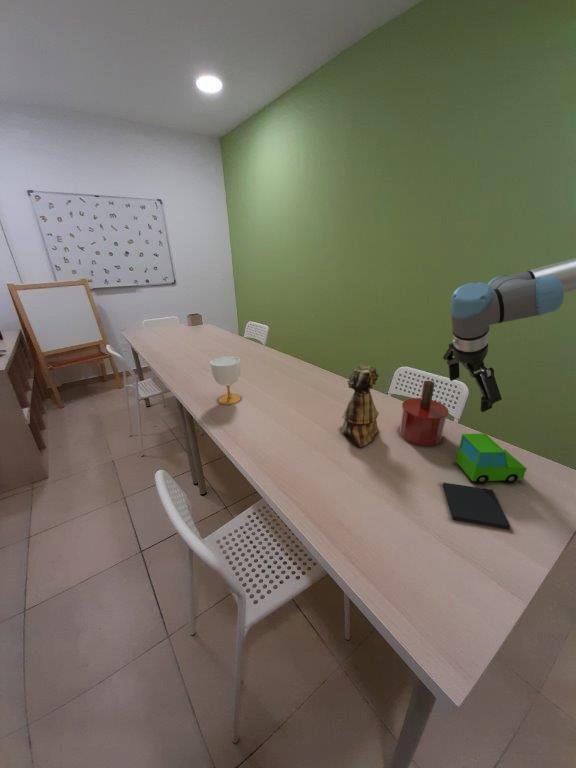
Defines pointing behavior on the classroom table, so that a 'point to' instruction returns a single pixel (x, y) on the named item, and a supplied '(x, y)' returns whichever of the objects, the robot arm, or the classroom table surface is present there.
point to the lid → (425, 405)
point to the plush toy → (361, 407)
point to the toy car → (487, 460)
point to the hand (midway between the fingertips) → (469, 393)
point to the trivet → (475, 505)
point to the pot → (421, 430)
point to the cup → (226, 376)
